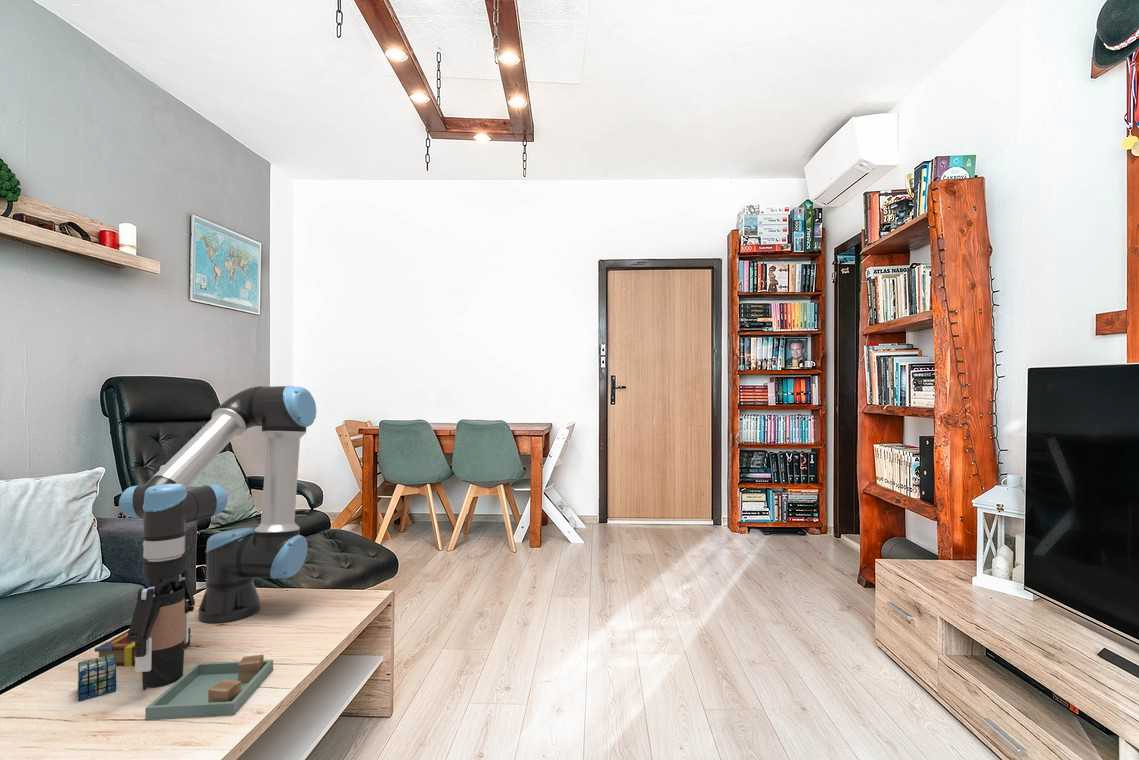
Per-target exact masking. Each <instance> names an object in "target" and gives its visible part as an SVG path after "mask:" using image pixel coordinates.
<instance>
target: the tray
mask: <svg viewBox="0 0 1139 760" xmlns="http://www.w3.org/2000/svg"><path fill="white" fill-rule="evenodd" d="M240 661H241V660H238V661H218V662H197V663H196V664H195V665H193V667H191V668H190V669H188V671H186V673H185V674H184V673H183V676H182V677H181V678H180V679H179V680H177V681H176V682H174V683H172V684H171V686H169V687H168V688H167V689H166V690H164V692H162V693H161V694H160V695H159V696H158V697H156V698H155V699H154V700H153V701H151V703H150V704H148V705H147V706H146V707H145V713H144V715H145V716H144V717H145V718H144V719H145V721H148V720H149V721H152V720H153V721H154V720H167V719H168V720H170V719H185V718H186V719H187V718H189V719H190V718H206V717H209V718H210V717H222V716H223V717H224V716H225V717H226V716H228V717H229V716H235V714H236V713H237V712H238V711H239V710H240V709H241V708H242V707H243V706H244V704H245V703H247V701H248V700H249V698H251V696H252V695H253V694H254V693H255V691H256V690H257V689H258V688H259V687H260V686H261V685H262V683H263V682H264V681H265V680H266V679H267V677H268V676H269V675H270V674H271V673H272V672H273V670H274V659H264V661H263V668H262V669H261V670H260V671H259V672H258V673H257V674H256V675H255V676H254V677H253V679H252V680H251V681H250V682H249V683H242V687H241V692H240V693H239V694H238V695H237V696H236V697H235V698H234V699H233V701H229V702H210V703H208V690H209V689H211V688H212V687H214V686H215V685H217V684H218V683H220V682H221V681H223V680H232V681H238V665H239V663H240Z"/></svg>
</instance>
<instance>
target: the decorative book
mask: <svg viewBox="0 0 1139 760" xmlns="http://www.w3.org/2000/svg"><path fill="white" fill-rule="evenodd" d="M128 632H129V629H128V630H126V631H125V632H122V634H121V633H120V635H117V636H116V637H114V638H112V639H110V640H109V641H106V642H103V643H102V644H100V645H98V646H97V647H95V648H94V652H95V653H98V657H102V656H105V658H106V655H111V654H114V655H115V660H116V666H123V667H126V668H127V667H133V666H135V641H127V636H128ZM191 638H192V635H191V627H188V642H187V643H184V649H185V648H186V647H187V646H188V645H190V644H191Z"/></svg>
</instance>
